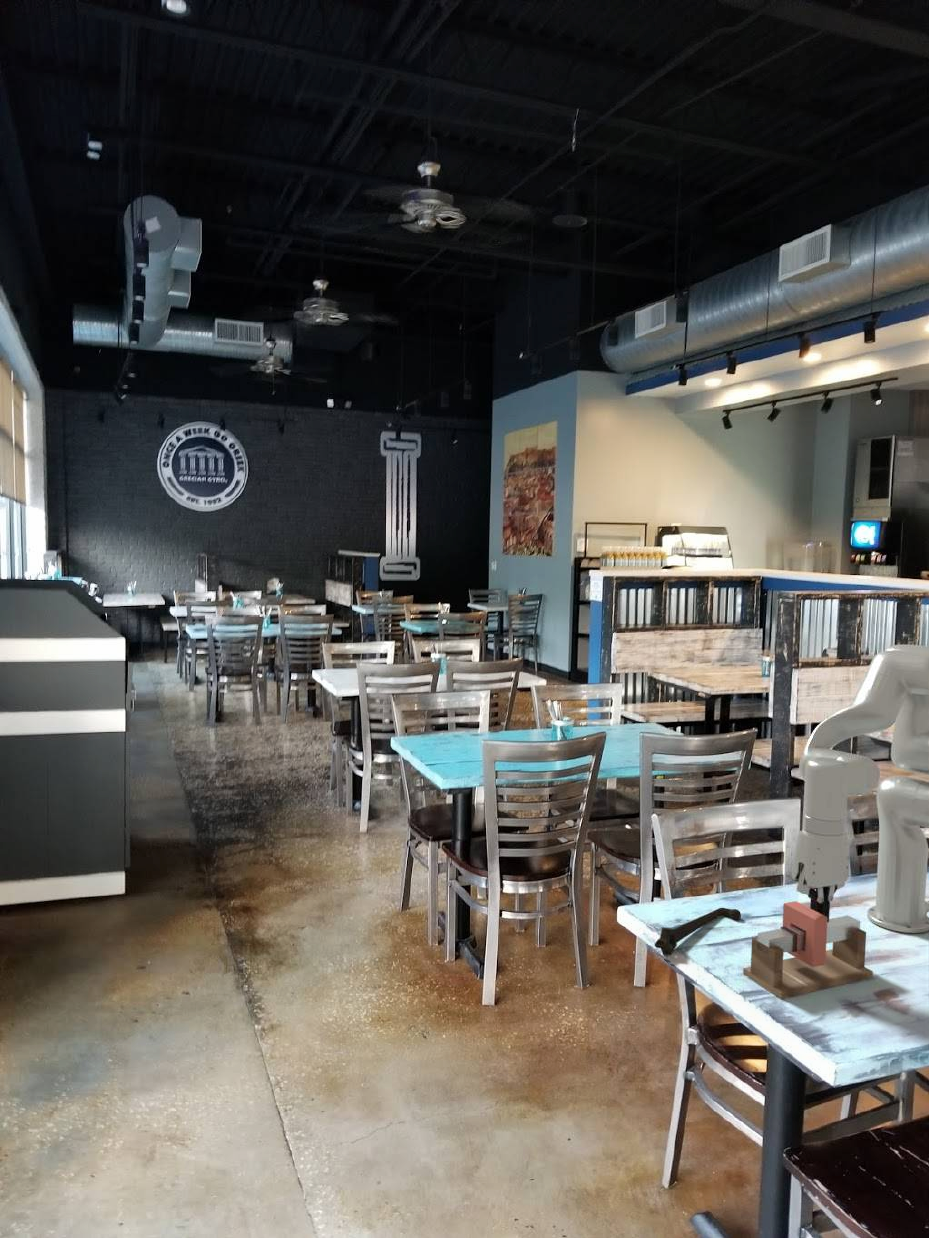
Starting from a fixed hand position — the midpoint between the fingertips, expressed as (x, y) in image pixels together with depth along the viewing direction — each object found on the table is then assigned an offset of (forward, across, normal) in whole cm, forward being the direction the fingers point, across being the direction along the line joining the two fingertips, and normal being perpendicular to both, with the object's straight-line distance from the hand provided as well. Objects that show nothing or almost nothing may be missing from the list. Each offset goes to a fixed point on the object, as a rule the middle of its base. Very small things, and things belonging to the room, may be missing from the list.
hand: (819, 920), depth 171 cm
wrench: (+11, +10, -22) cm, 26 cm away
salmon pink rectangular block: (+7, +4, 0) cm, 7 cm away
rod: (+4, +2, 0) cm, 5 cm away
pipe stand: (+11, +2, 0) cm, 11 cm away
